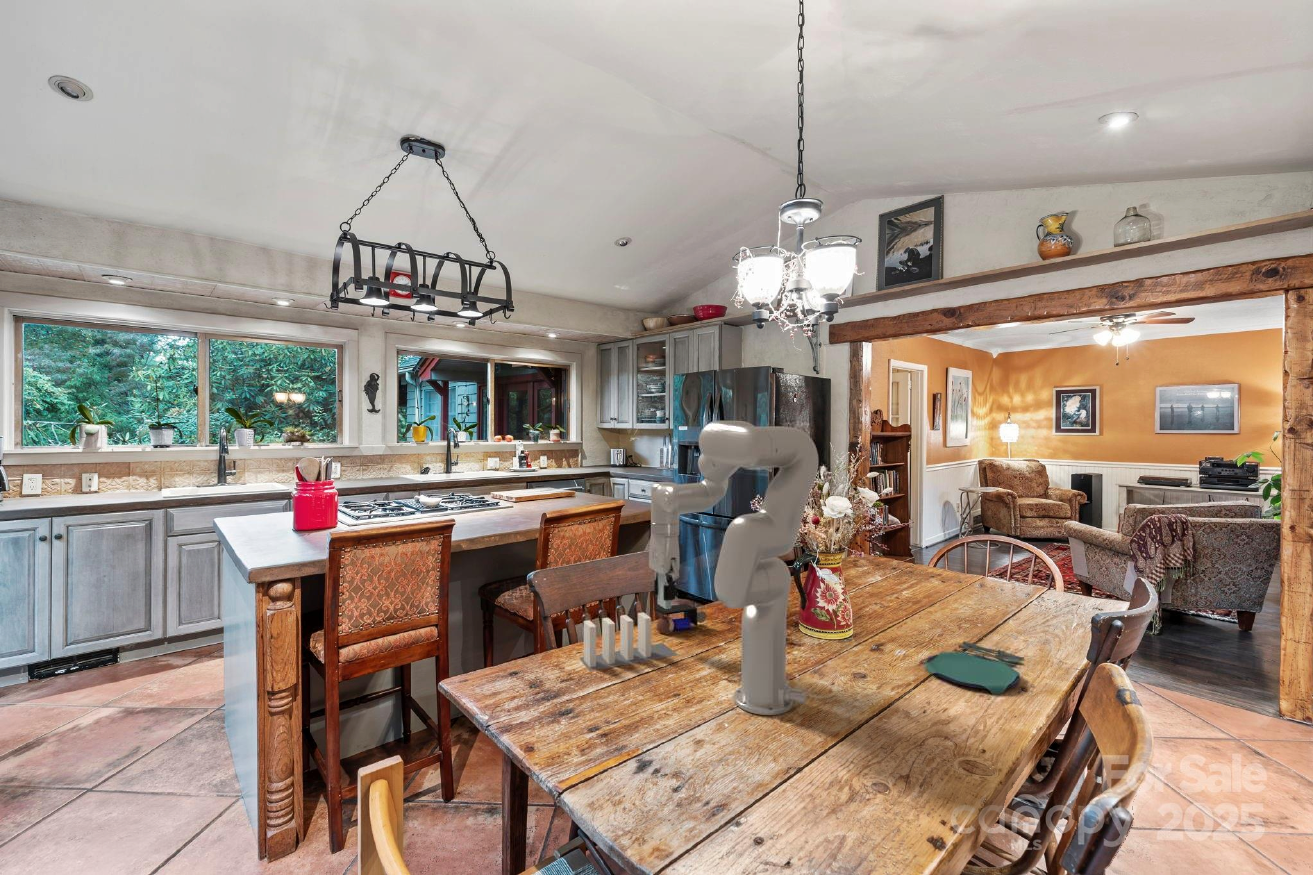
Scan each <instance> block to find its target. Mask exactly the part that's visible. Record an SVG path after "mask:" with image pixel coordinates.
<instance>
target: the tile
mask: <svg viewBox="0 0 1313 875" xmlns="http://www.w3.org/2000/svg"><path fill="white" fill-rule="evenodd" d="M668 573H672V571H668ZM671 576H672V575H668V579H669V577H671ZM664 585H665V580H664V575H662V574H660V573H658V595H657V605H659V606H660V607H663V608H665V609H670V608H671V606H672V600H668V601H665V600H664V599H663V586H664Z"/></svg>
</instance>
